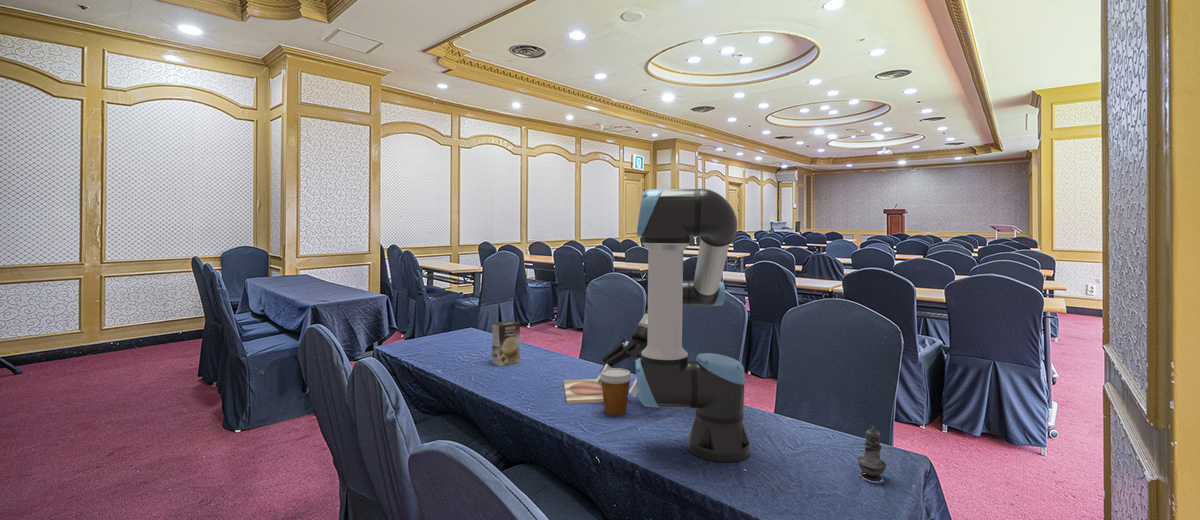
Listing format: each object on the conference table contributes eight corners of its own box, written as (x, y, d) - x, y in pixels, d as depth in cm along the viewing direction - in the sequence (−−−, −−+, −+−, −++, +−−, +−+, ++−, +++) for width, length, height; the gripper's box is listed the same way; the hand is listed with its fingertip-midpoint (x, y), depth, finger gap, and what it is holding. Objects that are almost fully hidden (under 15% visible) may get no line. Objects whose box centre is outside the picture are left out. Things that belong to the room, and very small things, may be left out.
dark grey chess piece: (853, 478, 119) (856, 426, 118) (859, 468, 124) (862, 418, 123) (883, 487, 116) (885, 433, 115) (888, 476, 120) (891, 424, 119)
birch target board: (617, 401, 167) (617, 397, 167) (566, 403, 166) (566, 399, 165) (609, 382, 187) (609, 378, 187) (563, 383, 185) (563, 379, 185)
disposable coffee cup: (628, 418, 154) (629, 378, 153) (596, 416, 156) (596, 375, 155) (633, 407, 163) (633, 368, 162) (602, 404, 165) (602, 366, 164)
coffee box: (500, 367, 205) (499, 325, 204) (491, 363, 210) (491, 323, 209) (520, 362, 211) (520, 322, 210) (512, 359, 216) (511, 320, 215)
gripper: (685, 345, 162) (652, 406, 152) (624, 332, 179) (592, 386, 170) (674, 331, 157) (640, 392, 148) (613, 319, 175) (579, 373, 166)
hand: (614, 389), depth 159 cm, fingers open, 13 cm apart
